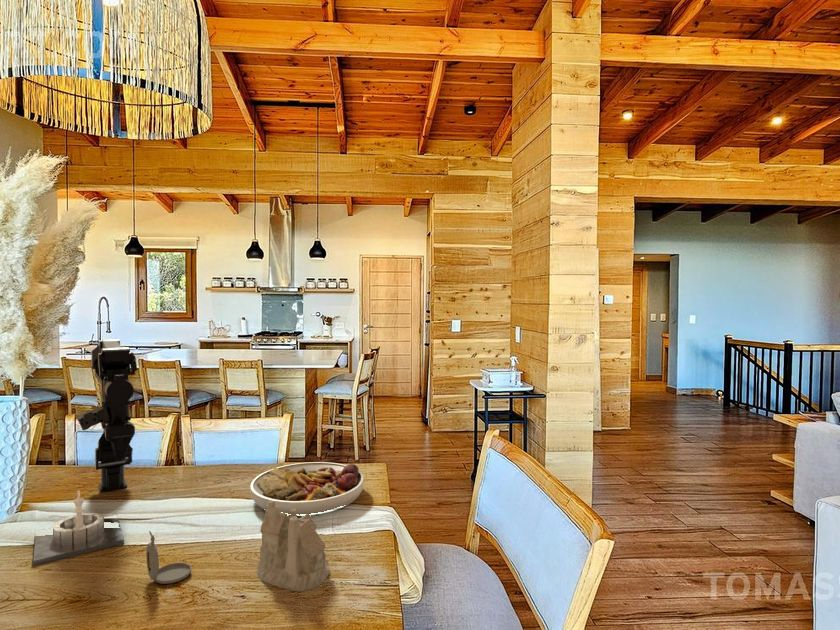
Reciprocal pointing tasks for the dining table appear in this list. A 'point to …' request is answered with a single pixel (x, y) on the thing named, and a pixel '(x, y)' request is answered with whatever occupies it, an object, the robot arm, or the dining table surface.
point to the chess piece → (79, 511)
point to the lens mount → (76, 538)
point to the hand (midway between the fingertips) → (117, 456)
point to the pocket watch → (164, 567)
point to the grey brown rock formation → (291, 551)
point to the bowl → (308, 487)
